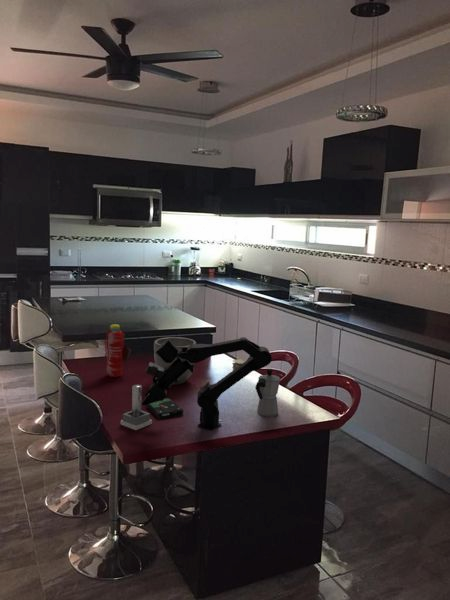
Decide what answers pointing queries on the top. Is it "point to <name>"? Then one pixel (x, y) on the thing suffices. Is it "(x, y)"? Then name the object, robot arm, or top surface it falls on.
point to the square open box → (136, 420)
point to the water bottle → (115, 351)
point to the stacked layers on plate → (237, 363)
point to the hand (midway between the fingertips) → (144, 400)
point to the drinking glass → (136, 400)
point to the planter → (178, 343)
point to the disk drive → (165, 408)
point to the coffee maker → (267, 394)
